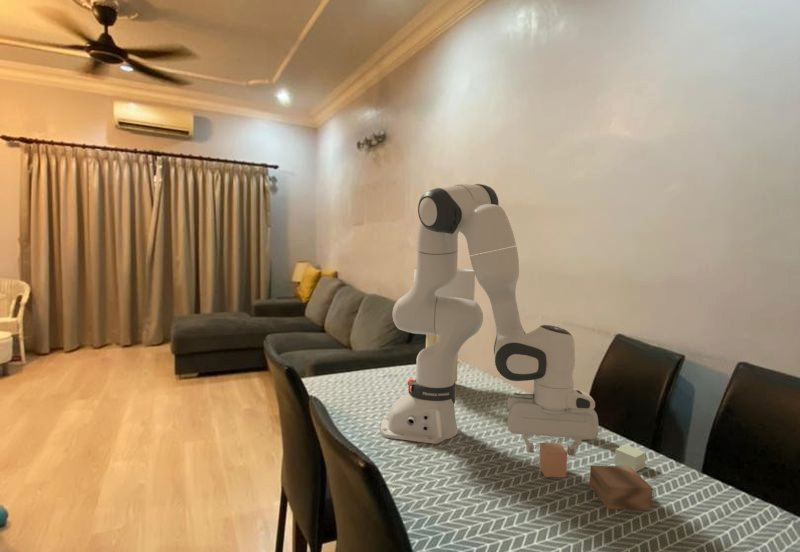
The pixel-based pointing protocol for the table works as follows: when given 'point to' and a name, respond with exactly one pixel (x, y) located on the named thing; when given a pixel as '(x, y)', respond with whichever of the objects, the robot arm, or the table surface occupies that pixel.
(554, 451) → the terracotta block
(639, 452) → the sage block
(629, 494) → the walnut block
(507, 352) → the robot arm
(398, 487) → the table surface
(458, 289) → the lamp
